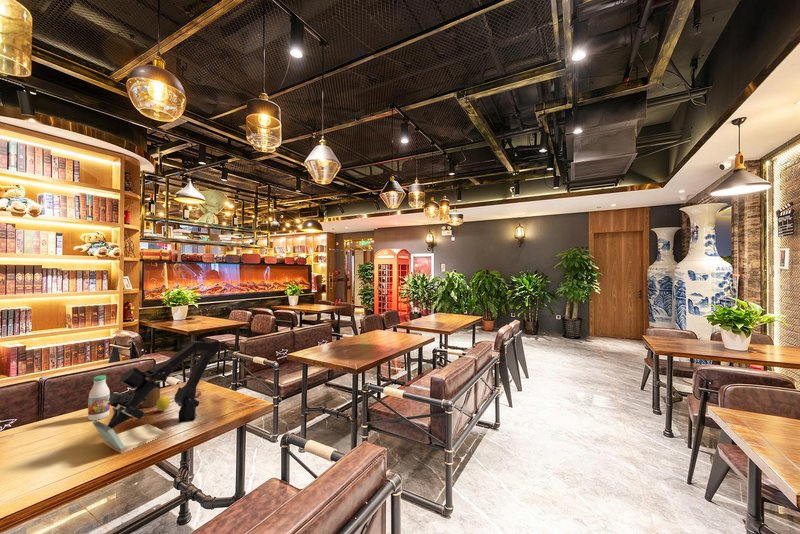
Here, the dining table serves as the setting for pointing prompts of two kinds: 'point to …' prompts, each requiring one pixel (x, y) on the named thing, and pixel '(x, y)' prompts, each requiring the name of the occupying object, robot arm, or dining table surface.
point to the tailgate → (108, 434)
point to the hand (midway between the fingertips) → (107, 429)
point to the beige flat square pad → (136, 437)
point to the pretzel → (197, 393)
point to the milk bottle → (99, 399)
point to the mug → (152, 398)
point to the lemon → (162, 403)
